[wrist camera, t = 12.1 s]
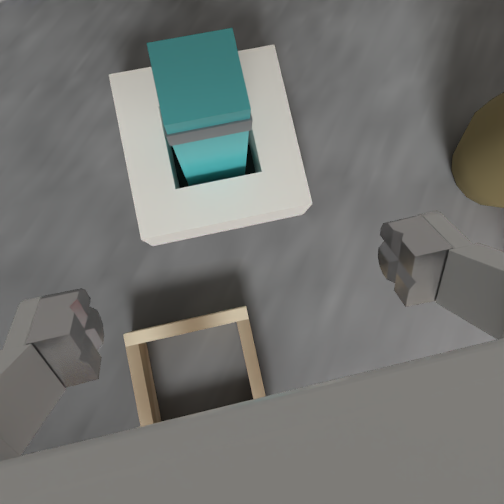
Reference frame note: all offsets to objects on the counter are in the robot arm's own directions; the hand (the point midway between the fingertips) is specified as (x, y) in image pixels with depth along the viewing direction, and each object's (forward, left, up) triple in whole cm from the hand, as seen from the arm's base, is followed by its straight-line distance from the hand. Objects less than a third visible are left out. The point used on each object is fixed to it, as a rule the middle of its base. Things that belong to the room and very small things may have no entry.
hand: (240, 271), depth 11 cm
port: (0, +9, -17) cm, 20 cm away
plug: (0, +9, -17) cm, 20 cm away
